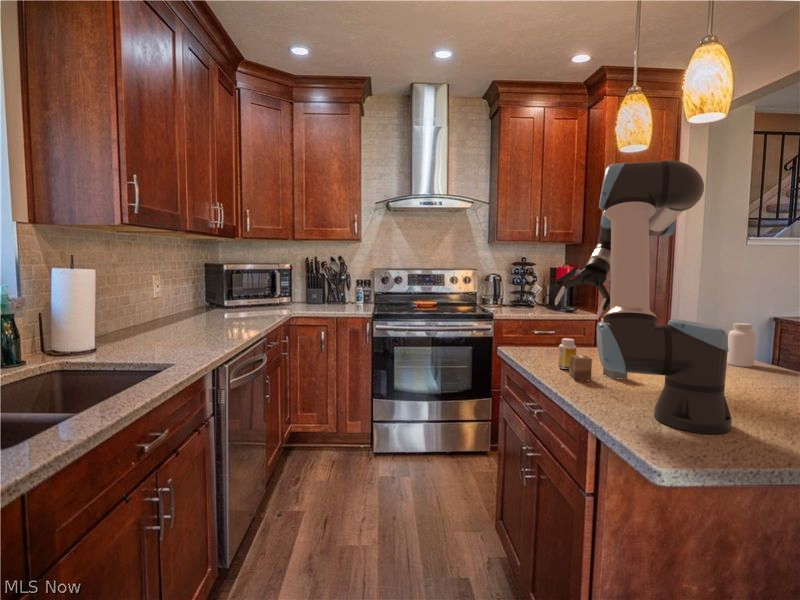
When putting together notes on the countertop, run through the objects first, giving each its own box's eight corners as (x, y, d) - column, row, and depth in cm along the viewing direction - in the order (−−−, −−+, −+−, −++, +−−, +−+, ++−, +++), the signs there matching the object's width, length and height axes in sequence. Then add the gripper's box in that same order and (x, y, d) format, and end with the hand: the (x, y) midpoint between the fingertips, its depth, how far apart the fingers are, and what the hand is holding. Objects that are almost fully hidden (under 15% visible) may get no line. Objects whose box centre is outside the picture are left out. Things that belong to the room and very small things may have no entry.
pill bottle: (731, 366, 163) (734, 324, 161) (722, 361, 170) (725, 321, 169) (757, 368, 160) (761, 325, 159) (747, 363, 168) (751, 322, 167)
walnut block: (590, 381, 141) (592, 358, 140) (574, 380, 141) (575, 358, 141) (585, 377, 146) (586, 354, 145) (569, 376, 146) (570, 354, 146)
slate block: (627, 379, 144) (628, 356, 144) (613, 379, 143) (614, 357, 143) (616, 375, 149) (617, 353, 148) (602, 375, 148) (604, 353, 147)
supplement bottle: (578, 369, 156) (580, 339, 155) (570, 371, 153) (571, 341, 152) (563, 366, 161) (565, 337, 160) (555, 368, 157) (556, 338, 156)
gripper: (635, 281, 156) (614, 328, 146) (563, 262, 168) (539, 303, 159) (639, 266, 150) (617, 314, 141) (564, 247, 162) (539, 290, 153)
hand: (576, 308), depth 150 cm, fingers open, 13 cm apart
